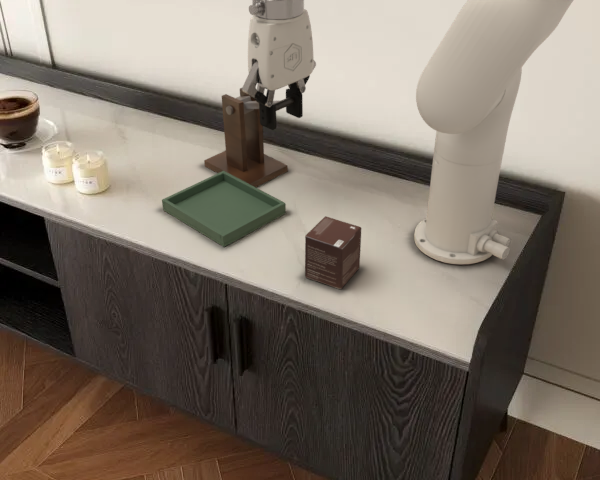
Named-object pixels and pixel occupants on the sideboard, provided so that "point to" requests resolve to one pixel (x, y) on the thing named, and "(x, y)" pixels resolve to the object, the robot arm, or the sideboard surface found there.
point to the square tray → (224, 207)
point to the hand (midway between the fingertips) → (281, 119)
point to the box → (332, 252)
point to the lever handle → (253, 105)
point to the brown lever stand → (244, 146)
